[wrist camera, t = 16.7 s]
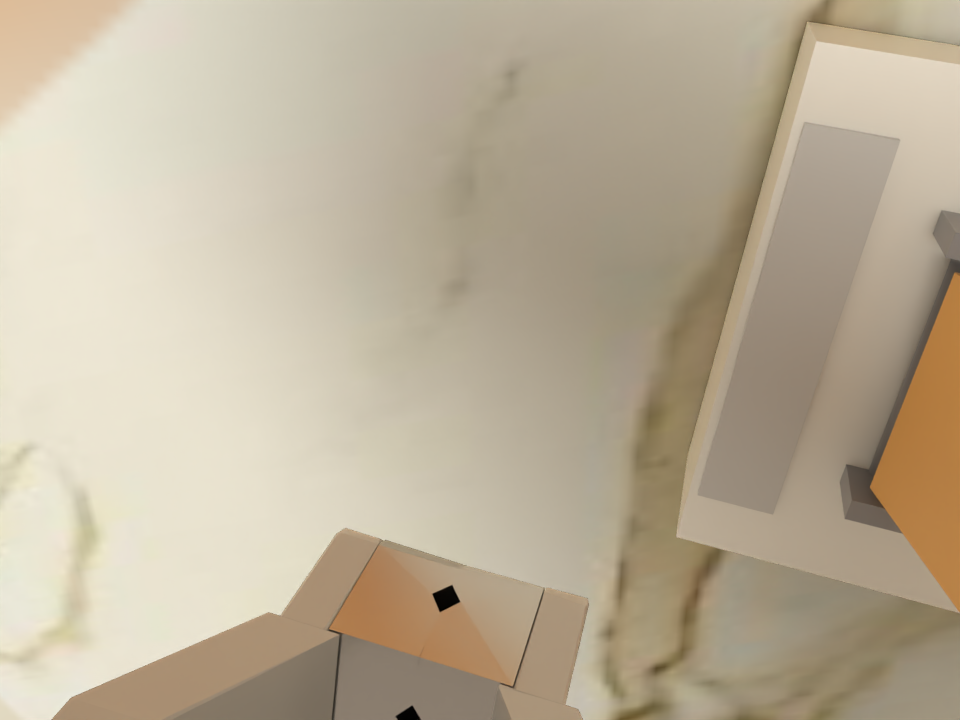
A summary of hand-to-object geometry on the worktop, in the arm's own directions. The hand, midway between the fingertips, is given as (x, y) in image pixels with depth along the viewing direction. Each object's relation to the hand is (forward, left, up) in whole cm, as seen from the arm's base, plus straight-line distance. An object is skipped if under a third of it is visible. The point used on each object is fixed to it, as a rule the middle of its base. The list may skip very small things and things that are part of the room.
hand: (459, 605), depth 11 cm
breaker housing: (-6, -4, -15) cm, 17 cm away
